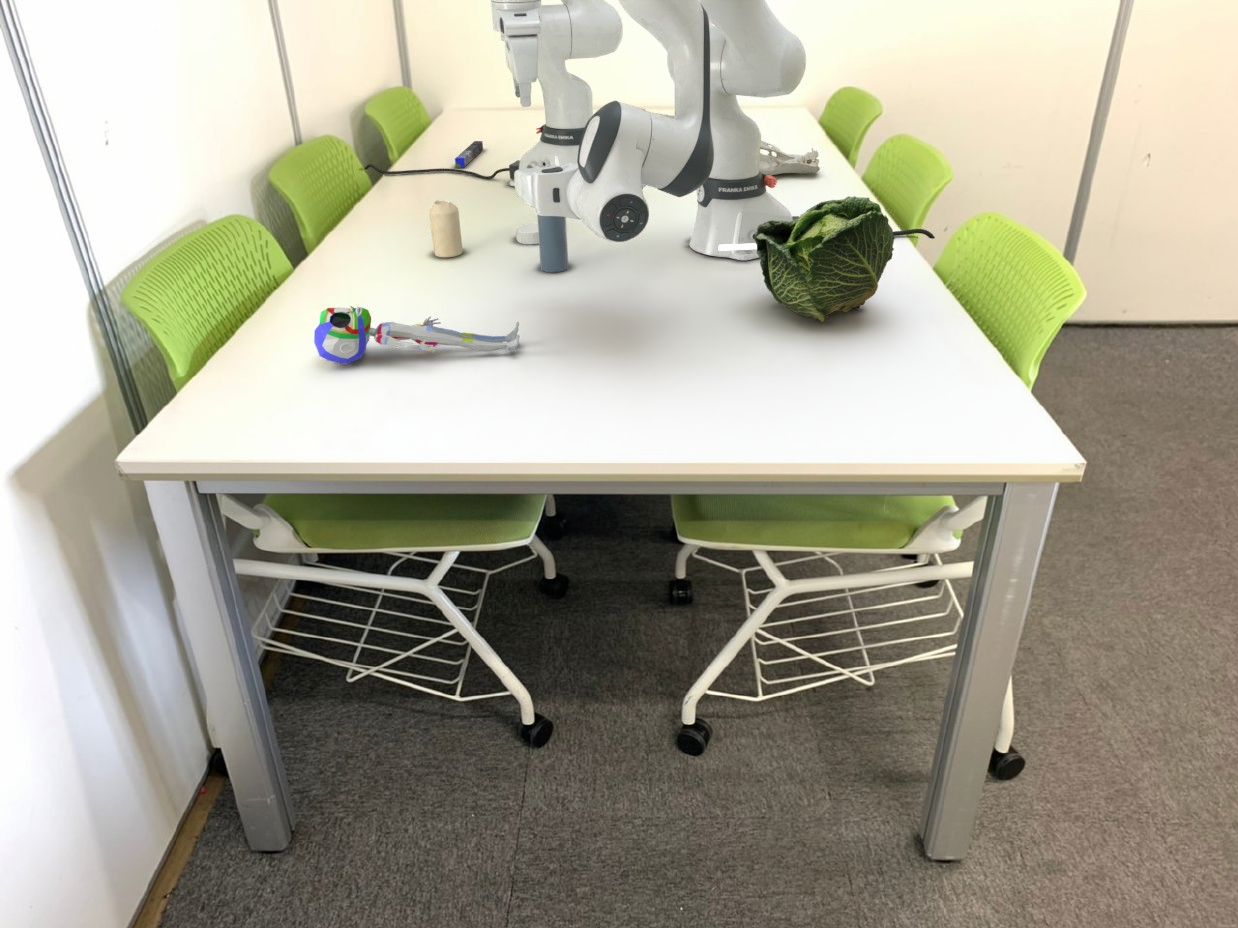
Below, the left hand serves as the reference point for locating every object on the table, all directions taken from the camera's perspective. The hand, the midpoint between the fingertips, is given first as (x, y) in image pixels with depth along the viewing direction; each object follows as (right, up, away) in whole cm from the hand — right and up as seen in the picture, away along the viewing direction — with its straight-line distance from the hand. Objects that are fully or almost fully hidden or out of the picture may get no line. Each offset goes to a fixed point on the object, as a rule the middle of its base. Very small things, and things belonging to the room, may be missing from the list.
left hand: (523, 101), depth 166 cm
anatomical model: (+55, +5, +55) cm, 78 cm away
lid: (0, -20, +14) cm, 25 cm away
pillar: (-22, +14, +73) cm, 77 cm away
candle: (-15, -26, +9) cm, 32 cm away
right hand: (+9, -19, -20) cm, 29 cm away
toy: (-12, -51, -30) cm, 61 cm away
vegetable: (+51, -42, -18) cm, 69 cm away
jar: (+6, -31, +1) cm, 31 cm away
